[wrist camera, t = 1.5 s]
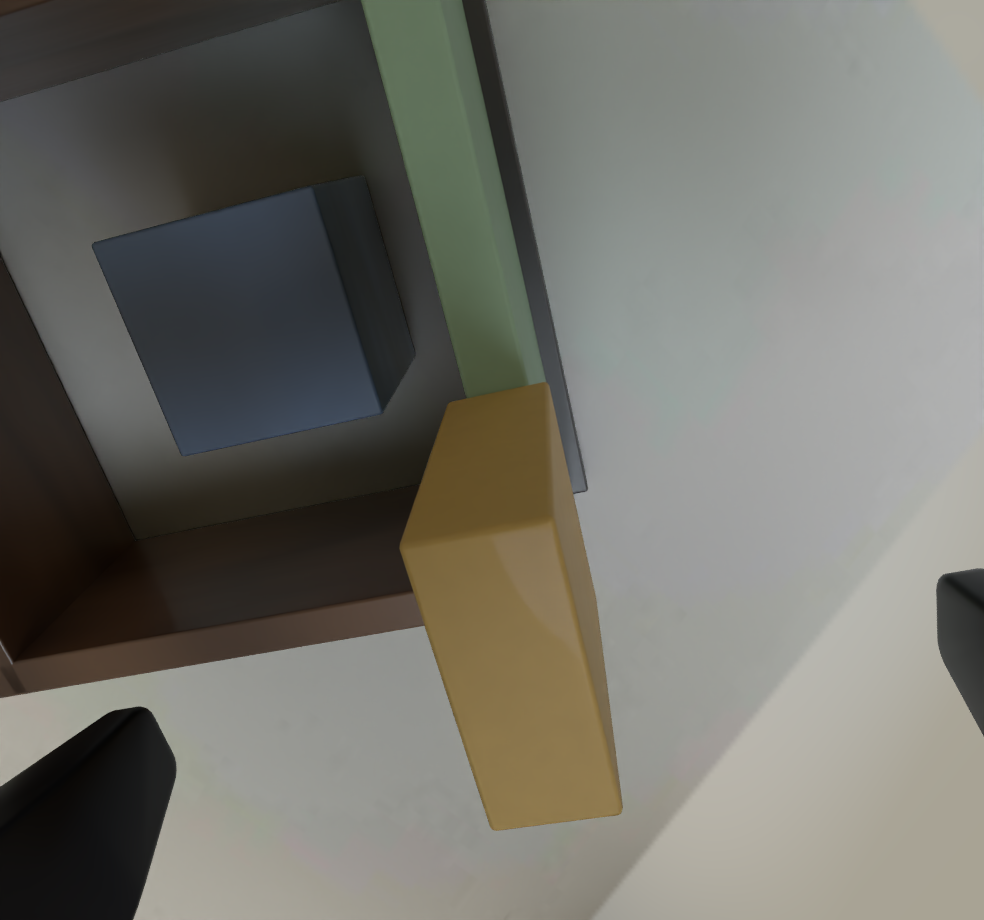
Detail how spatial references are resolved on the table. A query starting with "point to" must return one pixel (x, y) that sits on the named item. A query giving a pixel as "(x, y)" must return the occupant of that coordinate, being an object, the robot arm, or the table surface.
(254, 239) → the block
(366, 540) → the cubby
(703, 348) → the table surface
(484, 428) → the green and tan bar
